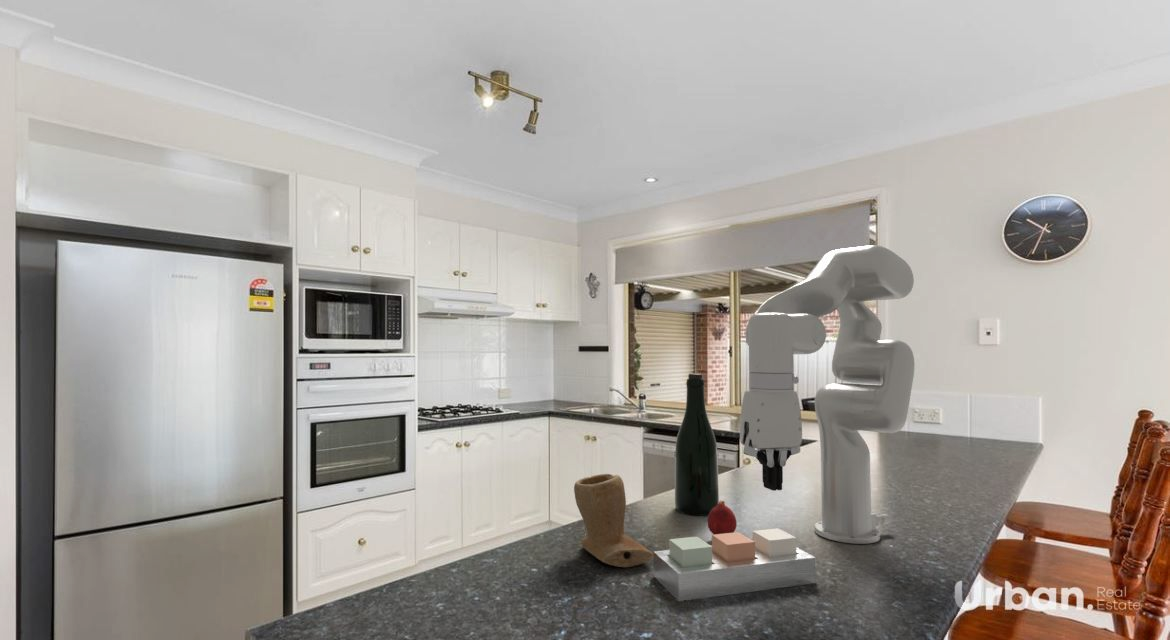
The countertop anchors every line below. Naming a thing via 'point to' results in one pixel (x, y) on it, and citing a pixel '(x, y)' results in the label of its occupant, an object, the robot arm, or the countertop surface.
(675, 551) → the sage key
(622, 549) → the brown hollow boot-shaped piece
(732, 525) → the onion
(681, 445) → the green wine bottle
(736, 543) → the terracotta key
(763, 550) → the cream key
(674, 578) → the keypad housing
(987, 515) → the countertop surface
